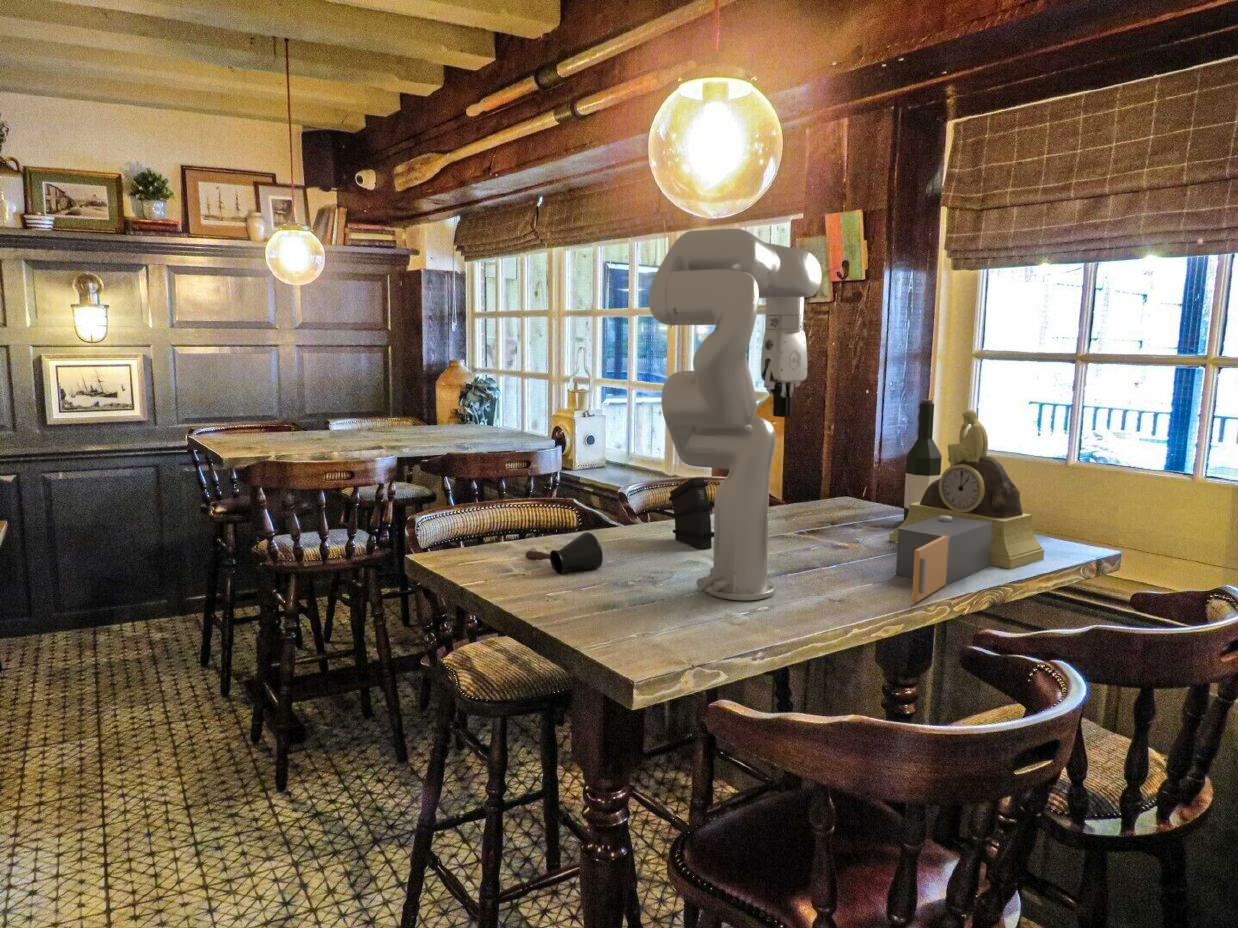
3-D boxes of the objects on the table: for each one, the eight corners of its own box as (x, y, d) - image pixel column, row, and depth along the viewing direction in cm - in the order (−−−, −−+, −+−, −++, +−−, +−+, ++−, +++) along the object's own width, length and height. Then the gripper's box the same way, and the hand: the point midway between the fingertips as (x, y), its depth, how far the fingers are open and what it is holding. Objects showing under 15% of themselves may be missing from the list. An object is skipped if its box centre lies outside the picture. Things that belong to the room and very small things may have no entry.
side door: (950, 583, 157) (953, 535, 156) (920, 602, 146) (922, 551, 145) (942, 582, 158) (945, 534, 156) (911, 601, 147) (914, 549, 146)
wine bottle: (944, 528, 204) (951, 401, 199) (908, 527, 204) (915, 401, 199) (931, 520, 212) (938, 398, 207) (897, 520, 212) (903, 398, 207)
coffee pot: (607, 569, 168) (570, 583, 163) (562, 561, 183) (527, 573, 178) (599, 532, 167) (561, 545, 162) (554, 527, 182) (519, 538, 177)
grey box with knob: (946, 585, 158) (949, 533, 156) (896, 574, 165) (898, 524, 163) (994, 564, 172) (997, 516, 170) (946, 555, 179) (948, 509, 177)
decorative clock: (888, 541, 191) (895, 407, 186) (923, 533, 199) (930, 404, 194) (1010, 569, 169) (1020, 417, 164) (1043, 559, 176) (1054, 413, 172)
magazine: (706, 546, 180) (691, 478, 184) (677, 559, 192) (663, 494, 195) (721, 544, 182) (706, 476, 186) (692, 557, 193) (678, 493, 197)
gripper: (776, 324, 164) (774, 420, 167) (821, 324, 174) (818, 415, 177) (745, 325, 169) (743, 417, 172) (790, 325, 179) (788, 412, 182)
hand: (781, 416), depth 174 cm, fingers closed
